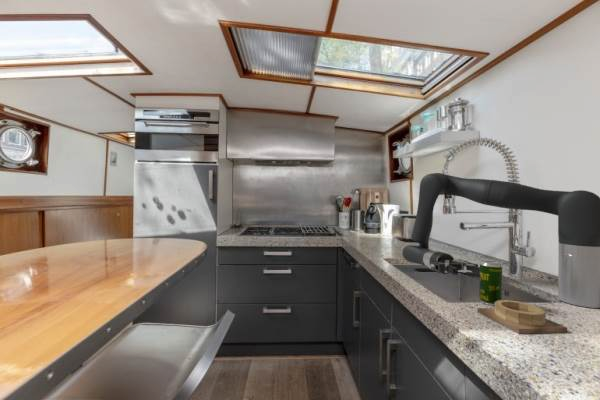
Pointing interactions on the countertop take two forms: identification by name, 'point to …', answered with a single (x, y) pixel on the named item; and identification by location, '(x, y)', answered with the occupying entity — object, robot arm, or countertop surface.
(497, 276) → the beer can
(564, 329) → the socket board
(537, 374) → the countertop surface
